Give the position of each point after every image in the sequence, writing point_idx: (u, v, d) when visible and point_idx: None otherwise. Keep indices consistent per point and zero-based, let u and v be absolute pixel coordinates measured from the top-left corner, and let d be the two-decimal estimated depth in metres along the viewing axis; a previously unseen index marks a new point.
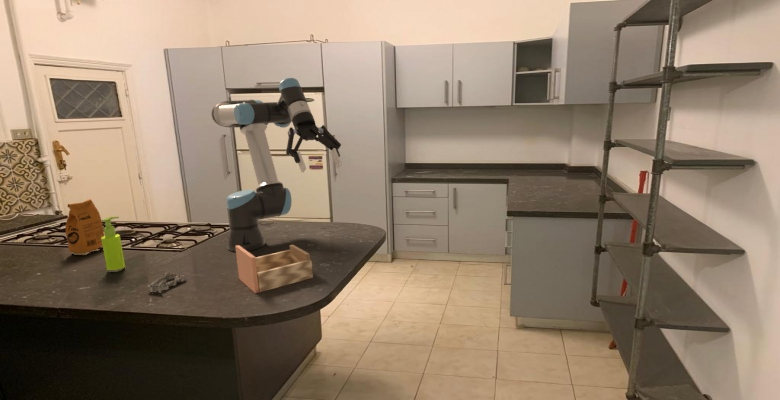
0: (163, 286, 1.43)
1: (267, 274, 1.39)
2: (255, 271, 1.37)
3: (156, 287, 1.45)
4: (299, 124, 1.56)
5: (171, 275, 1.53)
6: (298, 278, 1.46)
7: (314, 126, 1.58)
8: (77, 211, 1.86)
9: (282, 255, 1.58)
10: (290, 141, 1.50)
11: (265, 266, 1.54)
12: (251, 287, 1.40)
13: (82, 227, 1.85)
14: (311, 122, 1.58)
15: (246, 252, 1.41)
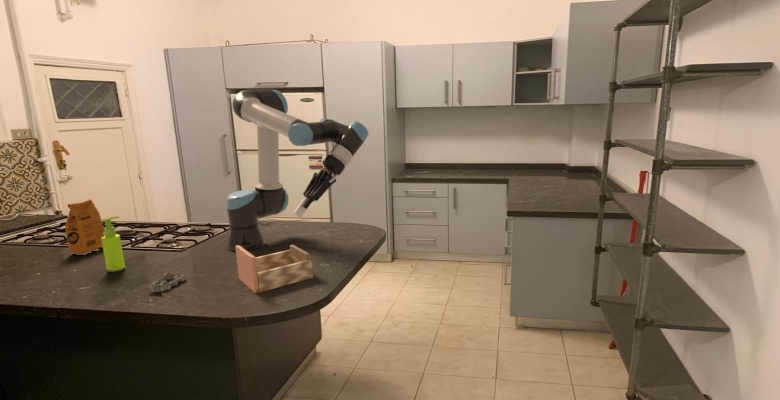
0: (165, 286, 1.44)
1: (267, 274, 1.39)
2: (255, 271, 1.37)
3: (158, 287, 1.45)
4: None
5: (170, 275, 1.53)
6: (298, 278, 1.46)
7: None
8: (77, 211, 1.86)
9: (282, 255, 1.58)
10: None
11: (265, 266, 1.54)
12: (251, 287, 1.40)
13: (82, 227, 1.85)
14: None
15: (246, 252, 1.41)
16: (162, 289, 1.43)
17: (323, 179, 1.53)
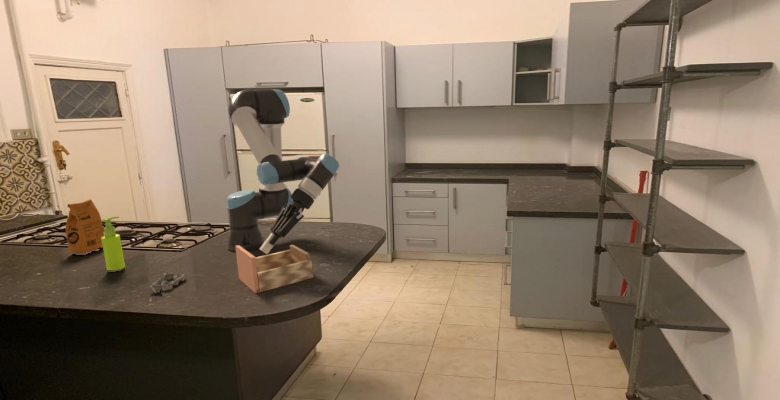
0: (167, 285, 1.44)
1: (267, 274, 1.39)
2: (255, 271, 1.37)
3: (159, 287, 1.45)
4: None
5: (169, 275, 1.53)
6: (298, 278, 1.46)
7: None
8: (77, 211, 1.86)
9: (282, 255, 1.58)
10: None
11: (265, 266, 1.54)
12: (251, 287, 1.40)
13: (82, 227, 1.85)
14: None
15: (246, 252, 1.41)
16: (164, 289, 1.43)
17: (291, 214, 1.48)
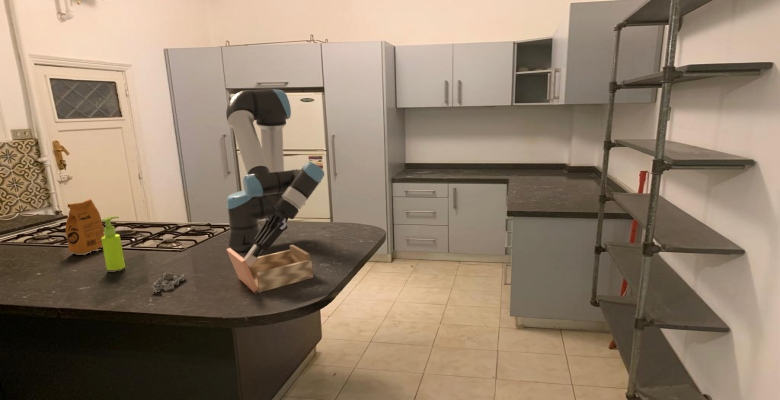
0: (169, 285, 1.44)
1: (267, 274, 1.39)
2: (249, 273, 1.36)
3: (160, 287, 1.45)
4: None
5: (169, 275, 1.53)
6: (298, 278, 1.46)
7: None
8: (77, 211, 1.86)
9: (282, 255, 1.58)
10: None
11: (265, 266, 1.54)
12: (250, 288, 1.40)
13: (82, 227, 1.85)
14: None
15: (237, 255, 1.39)
16: (166, 289, 1.43)
17: (274, 225, 1.43)
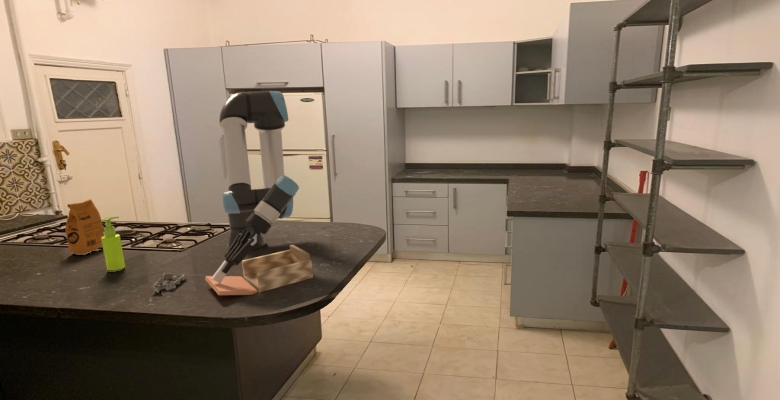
0: (171, 285, 1.44)
1: (267, 274, 1.39)
2: (234, 292, 1.34)
3: (162, 287, 1.44)
4: None
5: (168, 276, 1.53)
6: (298, 278, 1.46)
7: None
8: (77, 211, 1.86)
9: (282, 255, 1.58)
10: None
11: (265, 266, 1.54)
12: None
13: (82, 227, 1.85)
14: None
15: (213, 286, 1.36)
16: (168, 288, 1.44)
17: (245, 241, 1.40)
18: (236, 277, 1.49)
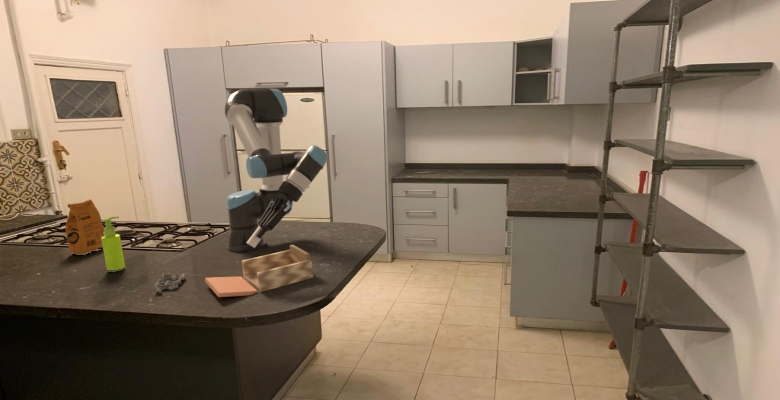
0: (174, 284, 1.45)
1: (267, 274, 1.39)
2: (234, 293, 1.34)
3: (164, 287, 1.45)
4: (293, 198, 1.47)
5: (166, 276, 1.52)
6: (298, 278, 1.46)
7: None
8: (77, 211, 1.86)
9: (282, 255, 1.58)
10: None
11: (265, 266, 1.54)
12: None
13: (82, 227, 1.85)
14: None
15: (213, 288, 1.37)
16: (171, 288, 1.44)
17: (278, 207, 1.45)
18: (236, 277, 1.49)
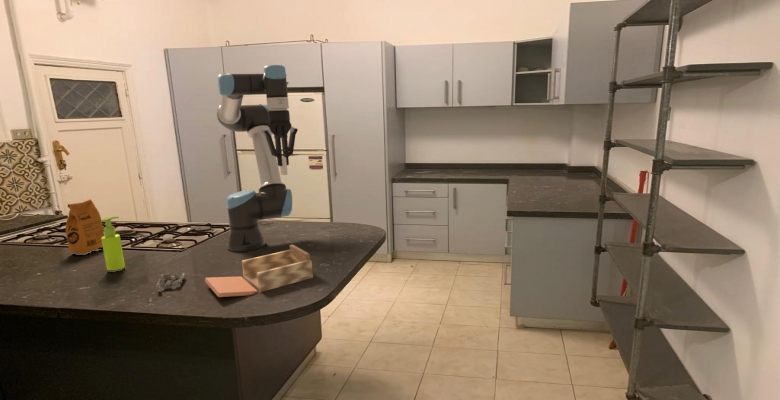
0: (177, 283, 1.45)
1: (267, 274, 1.39)
2: (234, 293, 1.34)
3: (167, 287, 1.45)
4: (273, 120, 1.60)
5: (165, 276, 1.52)
6: (298, 278, 1.46)
7: (288, 123, 1.64)
8: (77, 211, 1.86)
9: (282, 255, 1.58)
10: (272, 146, 1.61)
11: (265, 266, 1.54)
12: None
13: (82, 227, 1.85)
14: (286, 120, 1.62)
15: (213, 288, 1.37)
16: (174, 287, 1.44)
17: None
18: (236, 277, 1.49)
